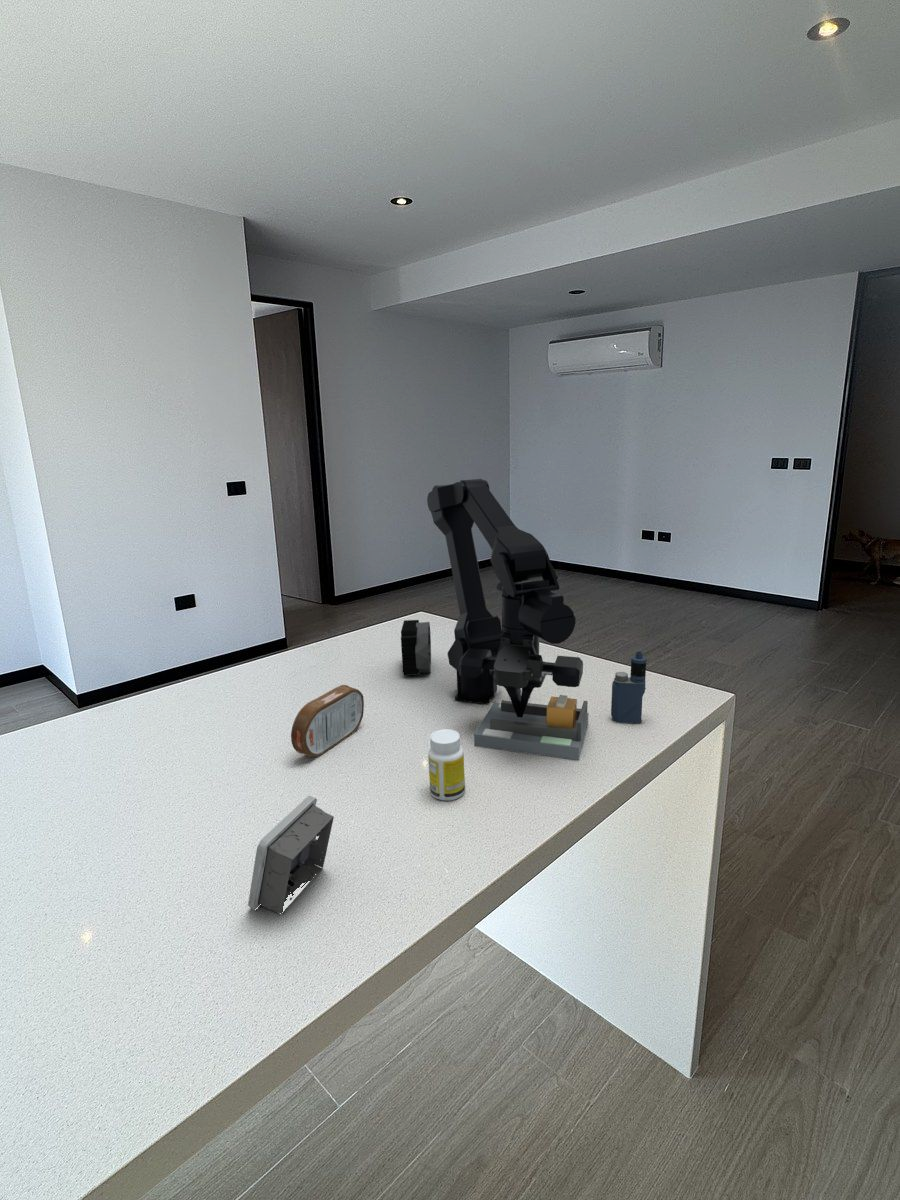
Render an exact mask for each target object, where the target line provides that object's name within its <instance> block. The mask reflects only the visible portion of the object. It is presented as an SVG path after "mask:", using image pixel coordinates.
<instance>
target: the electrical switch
mask: <svg viewBox="0 0 900 1200" xmlns="http://www.w3.org/2000/svg"><path fill="white" fill-rule="evenodd" d="M317 802H318V799H317V797H314V796H312V795H308V796H306V798H304V799H303V800H302V801H301V802H300V803H299V804H298V805H296V807H294V809H292V811H290V812H289V813H288V814H287V815H286V816H285V817H284V818H283V819H282V820H281V821H279V823H277V824H276V825H274V827H273V828H272V829H271V830H270V831H269V832H268V833H266V834H265V835H264V836H263V837H262V838H261V839H260V841H259V843H258V845H257V847H256V851H255V852H256V853H255V857H254V858H255V859H254V866H253V872H252V878H251V883H250V890H249V896H248V904H247V906H248V907H249V908H250V909H252V911H254V910H255V909H256V908H257V907H258V906H259V905H260V904H261V906H262V907H265V908H266V909H268V910H271V911H273V912H275V913H277V912H278V913H277V914H279V913H281V914H282V912H283V906H284V902H285V901H286V900H287V899H286V898H287V897H288V895H290V894H292V896H293V895H294V894H293V892H294V891H295V890H296V889H297V888H299V887H300V885H301V884H302V883H305V882H306V883H307V882H308V881H311V880H312V879H313V877H314V876H315V874H317V875H318V874H319V873H320V872H321V871H322V869H323V868H324V865H325V859H326V857H327V856H326V855H327V851H328V847H329V841H330V838H331V837H330V836H331V832H332V828H333V822H334V819H335V817H334V815H331V814H329V813H328V812H325V810H323V809H322V808H320V807H318V806H316V805H317ZM317 837H318V838H317ZM315 877H316V876H315ZM313 880H314V879H313ZM313 880H312V881H313ZM289 881H291V882H292V883H293V884H294V885H292V886H291V885H289V883H288V882H289ZM312 881H311V882H312ZM306 883H305V884H306ZM305 884H304V885H305ZM304 885H303V886H304ZM303 886H302V887H303ZM302 887H301V888H302ZM290 892H291V893H290ZM282 915H283V914H282Z"/></svg>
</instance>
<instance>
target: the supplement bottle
mask: <svg viewBox="0 0 900 1200" xmlns="http://www.w3.org/2000/svg"><path fill="white" fill-rule="evenodd" d="M429 740H430V741H429V742H430V743H429V744H430V747H429V749H428V752H427V754H428V757H427V758H428V772H429V773H428V777H429V778H428V779H429V791H430V794H431V795H432V797H433V798H434V799H436V800H440V801H446V802H447V801H455V800H457V799H459V798H461V797H462V796H463V795H464V794H465V790H466V781H465V780H466V779H465V775H466V774H465V758H464V749H463V747H462V746H461V744H462V743H461V736H460V733H459V732H458V731H457V730H454V729H449V728H448V729H447V728H446V729H445V728H444V729H439V730H438V729H437V730H436V731H434V732H432V733H431V734H430V737H429Z"/></svg>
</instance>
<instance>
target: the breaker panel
mask: <svg viewBox="0 0 900 1200" xmlns="http://www.w3.org/2000/svg"><path fill="white" fill-rule="evenodd" d="M588 705H589V704H588V700H583V702H582V705H581V708H577V711H576V725H575V728H566V727H558V726H550V725H547V706H548V704H540V703H530V702H528V704H527V706H526V709H525V712H524V715H523V717H522V718H521V717H517V715H516V712H515V710H514V707H513V704H512V702H511V700H503V699H502V700H501V702H493V703H492V704H491V706H490V708H489V709H488V711H487V712H486V714H485V716H484V718H483V719H482V721H481V722H480V723H479V726H478V727H477V729H476V731H475V732H474V733H473V737H474V738H473V742H474V744H473V745H474V747H480V748H485V749H486V748H487V749H494V750H502V751H510V752H514V753H515V752H516V753H522V754H523V753H524V754H530V755H538V756H539V755H540V756H545V757H546V756H547V757H553V758H559V759H561V758H562V759H567V760H573V761H574V760H575V761H579V760H580V757H581V753H582V749H583V746H582V745H583V744H584V741H585V737H586V733H587V729H588V725H589V716H590V715H589V712H588Z"/></svg>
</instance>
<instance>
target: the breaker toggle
mask: <svg viewBox="0 0 900 1200" xmlns="http://www.w3.org/2000/svg"><path fill="white" fill-rule="evenodd" d="M577 704H578V700H577V698H571V697H569V698H568V695H566V694H559V695H558V696H551V697H550V698H549V701H548V703H547V705H548V706H547V725H550V726H558V727H566V728H575V725H576V711H577V707H578V706H577Z"/></svg>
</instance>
